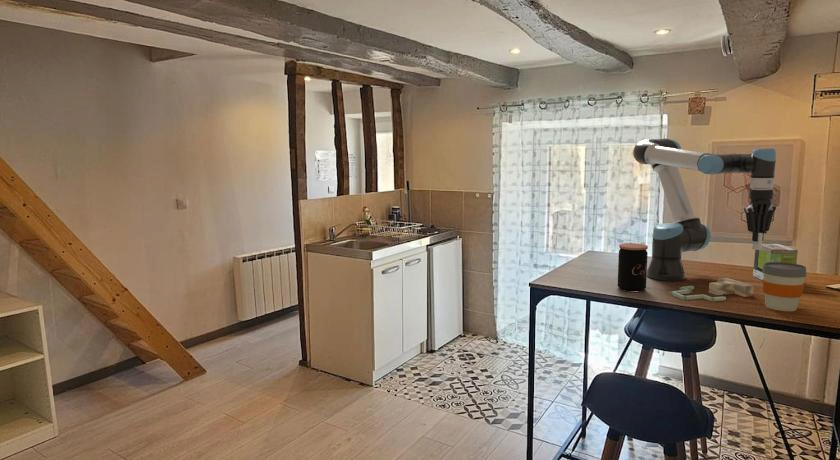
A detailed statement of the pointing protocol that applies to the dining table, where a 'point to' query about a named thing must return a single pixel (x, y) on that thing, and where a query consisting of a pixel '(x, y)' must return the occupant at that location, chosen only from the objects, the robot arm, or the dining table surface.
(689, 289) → the t outline
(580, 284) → the dining table surface
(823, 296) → the dining table surface
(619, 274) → the coffee jar
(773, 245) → the tea box
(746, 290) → the t block
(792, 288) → the reusable coffee cup
